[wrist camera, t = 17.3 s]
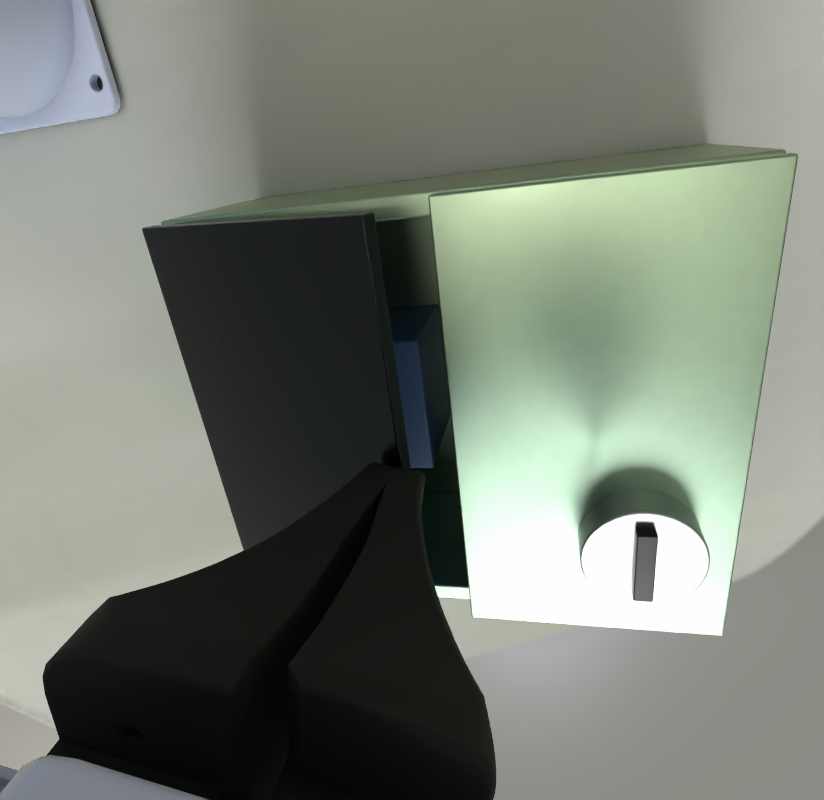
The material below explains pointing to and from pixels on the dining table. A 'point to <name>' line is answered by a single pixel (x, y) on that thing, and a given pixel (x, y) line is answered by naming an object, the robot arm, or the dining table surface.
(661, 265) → the washer
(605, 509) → the white disc with bar
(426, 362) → the navy cube
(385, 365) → the lid
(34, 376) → the dining table surface
